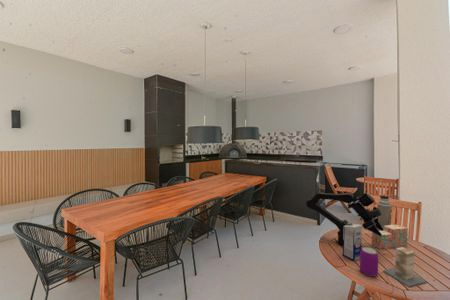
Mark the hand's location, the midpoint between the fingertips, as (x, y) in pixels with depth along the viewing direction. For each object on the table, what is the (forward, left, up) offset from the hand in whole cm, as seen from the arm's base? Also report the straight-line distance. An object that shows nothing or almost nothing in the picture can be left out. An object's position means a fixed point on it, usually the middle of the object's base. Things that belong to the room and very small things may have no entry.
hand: (382, 233), depth 123 cm
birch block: (-9, -18, -13) cm, 24 cm away
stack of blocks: (+17, +8, -14) cm, 23 cm away
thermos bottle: (+29, +21, -14) cm, 39 cm away
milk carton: (-19, +3, -14) cm, 23 cm away
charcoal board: (-9, -18, -14) cm, 24 cm away
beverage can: (-23, -11, -14) cm, 29 cm away
